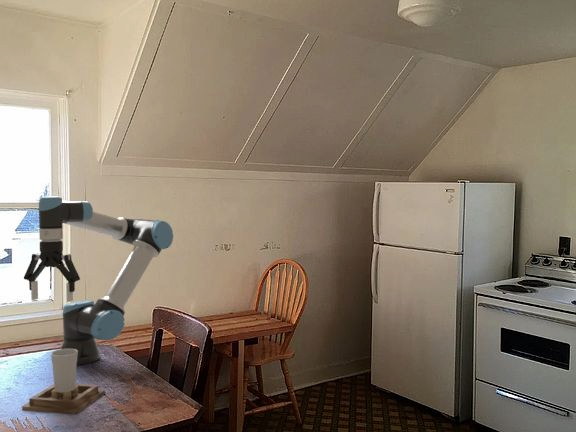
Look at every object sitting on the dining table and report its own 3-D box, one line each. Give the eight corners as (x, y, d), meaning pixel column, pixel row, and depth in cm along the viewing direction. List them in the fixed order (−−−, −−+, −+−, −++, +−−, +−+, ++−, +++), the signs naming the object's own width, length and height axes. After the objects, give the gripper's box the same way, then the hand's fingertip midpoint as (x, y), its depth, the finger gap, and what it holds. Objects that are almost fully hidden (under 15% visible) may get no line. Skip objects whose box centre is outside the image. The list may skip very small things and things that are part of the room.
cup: (69, 394, 180) (68, 356, 180) (46, 392, 182) (45, 355, 181) (83, 385, 188) (82, 349, 188) (60, 383, 190) (60, 348, 189)
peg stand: (55, 389, 196) (55, 377, 196) (104, 393, 193) (104, 381, 192) (22, 409, 178) (21, 396, 178) (75, 414, 175) (75, 401, 175)
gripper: (12, 240, 201) (13, 300, 202) (77, 242, 196) (78, 303, 197) (25, 238, 208) (27, 296, 209) (89, 240, 203) (90, 299, 205)
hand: (52, 300), depth 203 cm, fingers open, 13 cm apart
